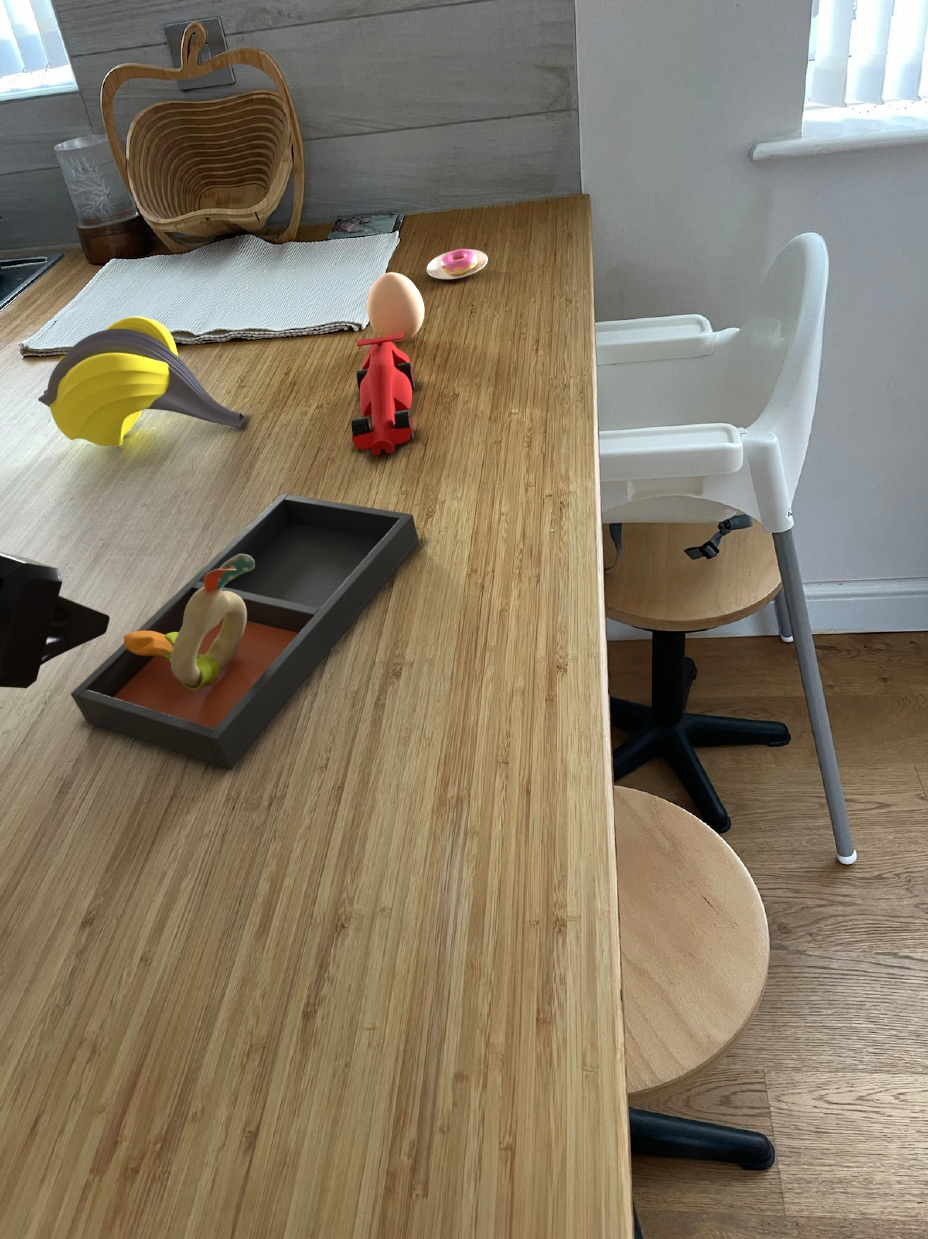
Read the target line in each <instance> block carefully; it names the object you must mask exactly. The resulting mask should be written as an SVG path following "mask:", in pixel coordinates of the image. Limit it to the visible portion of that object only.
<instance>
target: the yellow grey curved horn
mask: <svg viewBox="0 0 928 1239" xmlns="http://www.w3.org/2000/svg"><path fill="white" fill-rule="evenodd" d="M37 400H38V402H40V403H42V404H43V405H45V406H47V407H48V408H49V410H50V414H51V416H52V419H53V420H54V423H55V425H56V427H57V428H58V429H59V430H60V432H61V433H62V434H63V435H64V436H65V438H67V439H68V440H71V441H74V440H77V439H80V440H83V441H84V440H85V441H88V442H90V443H92V444H94V445H97V446H101V447H110V446H113V447H114V448H120V447H121V446H122V444H123V440H124V436H125V435H127V434H128V433H129V431H130V430H131V429H132V428H133V427H134V426H135V424H136V423H137V422H138V420H139V418H140V416H141V414H142V412H143V411H144V410H157V411H158V410H159V411H167V412H173V413H177V414H181V415H184V416H187V417H188V416H189V417H192V418H196V419H199V420H202V421H206V422H209V423H214V424H218V425H223V426H230V427H236V428H241V427H242V425H243V423H244V419H245V415H244V414H243V413H242V412H238V411H237V410H232V409H231V408H228V407H226V406H224V405H223V404H221V403H219V402H218V401H216V400H215V399H214V398H213V397H212V396H211V395H210V394H209V393H208V392H207V390H206V389H205V387H203V385H202V384H201V382H200V381H199V379H198V378H197V377H196V376H195V374H194V373H193V372H192V370H191V369H190V368H189V367H188V365H187V364H186V363H185V362H184V361H183V360H182V359H181V358H180V357H179V354H178V350H177V345H176V342H175V340H174V337H173V336H172V334H171V333H170V331H169V329H168V328H167V327H166V326H165V325H163V324H162V323H160V322H159V321H157V320H155V319H151V318H147V317H144V316H128V317H124V318H121V319H119V320H117V321H115V322H114V323H112V324H110V325H109V326H108V327H107V328H106V329H103V330H99V331H97V332H94V333H92V334H90V335H89V334H88V336H85V337H84V338H82V339H80V340H79V341H78V342H76V343H75V344H74V345H73V346H72V347H71V348H70V349H69V350H68V351H67V352H66V354H65V355H61V356H60V358H59V362H58V363H57V364H56V366H55V367H54V368H53V370H52V372H51V374H50V377H49V379H48V384H47V389H45V390H44V391H43V394H42V395H40V396H39V397H38V398H37Z"/></svg>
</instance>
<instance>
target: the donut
mask: <svg viewBox="0 0 928 1239" xmlns="http://www.w3.org/2000/svg"><path fill="white" fill-rule="evenodd" d="M486 264H488V256H487V254H486V253H485V252H483V251H481V250H477V249H473V248H472V249H471V248H458V249H456V250H451V251H447V252H445V253H442V254H440V255H437V256H436V257H434V258H433V259H432V260H431V261H430V262H429V263H428V264H427V266H426V272H427V274H428V275H429V277H433V278H434V279H438V280H458V279H462V278H463V279H464V278H466V277H469V276H472V275H474V274H475V273H478V272H479V271H481V270H482V269H483V268H485V266H486Z"/></svg>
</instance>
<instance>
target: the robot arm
mask: <svg viewBox="0 0 928 1239" xmlns="http://www.w3.org/2000/svg"><path fill="white" fill-rule="evenodd" d="M60 573H61V572H60V571H59V568H57V567H54V566H51V565H49V564H45V563H43V562H39V561H36V560H34V559H30V558H29V557H24V556H21V555H17V554H13V553H9V552H4V551H0V688H9V689H10V688H12V689H13V688H14V689H28V688H29V687H31V686H32V685H33V684H34V683H36V682H37V680H38V677H39V673H40V670H41V666H42V665H43V664H46V663H47V662H49V661H51V660H53V659H54V658H57V657H58V656H60V655H63V654H64V653H67V652H68V651H70V650H73V649H75V648H77V647H79V646H82V645H84V644H86V643H88V642H91V641H92V640H95V639H97V638H99V637H101V636H104V635H105V634H106V633H107V632H108V628H109V624H110V620H111V618H110V615H108V614H106V613H103V612H101V611H98V610H96V609H93V608H91V607H89V606H86V605H84V604H81V603H79V602H76V601H74V600H71V599H69V598H66V597H64V596H61V595H60V592H61V589H62V585H63V580H62V577H61V574H60Z"/></svg>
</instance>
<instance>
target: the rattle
mask: <svg viewBox="0 0 928 1239" xmlns="http://www.w3.org/2000/svg"><path fill="white" fill-rule="evenodd" d="M254 566H255V561H254V560H253V558H252V556H249V555H246V554H238V555H236V556H234V557H233V558H231V559H229V560H228V561H226V562H225V563H224V564H223V565H222V566H221V567H220V568H219V569H215V570H212V571H210V572H209V573H207V574H206V575H205V577H204V582H203V583H204V587H202V588H200V589H199V590H197V591H196V592H195V593H194V595H193V596H192V597H191V599H190V600H189V602H188V604H187V606H186V608H185V612H184V618H183V625H182V628H181V629H180V631H179V633H178V632H172V633H168V634H166V635H164V634H161V633H158V632H154V631H137V630H136V631H132V632H129V633H127V634H125V635H124V636H123V640H124V641H123V644H124V645H125V647H126V648H127V649H128V650H129V651H131V652H133V653H135V654H137V655H142V656H164V657H167V658H168V659H170V662H171V669H172V672H173V674H174V675H175V677H176V678H177V679H178V680H180V682H181V683H182V684H183V685H184V686H185V687H187V688H188V689H191V690H197V689H199V688H202V687H204V686H208V685H210V684H212V683H213V682H214V681H216V680H217V679H218V678H219V674H220V671H221V670H222V669H223V668H224V667H225V666H226V665H227V664H228V663H229V662H231V661H232V660H233V659H234V657H235V656H236V654H237V651H238V647H239V644H240V641H241V639H242V636H243V633H244V630H245V626H246V620H247V611H246V606H245V603H244V601H243V600H242V599H241V597H239V596H238V595H236V594H235V593H232V592H229V591H221V590H222V588H223V587H224V585H225V584H226V583H228V582H229V581H231V580H232V579H234V578H235V577H237V576H238V575H240V574H243V573H245V572H248V571H251V570H252V569H254ZM223 617H224V619H223V625H222V628H221V630H220V633H219V634H218V636H217V637H216V639H215V640H214V641H213V643H212V645H211V647H210V649H209V650H208V652H207V653H206V654H197V653H198V650H199V647H200V645H201V642H202V640H203V638H204V637H205V636H206V634H207V633H208V632H209V631H211V630H212V629H214V628H215V627H216V626H217V625H218V624H219V622H220V621H221V620H222V618H223Z"/></svg>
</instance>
